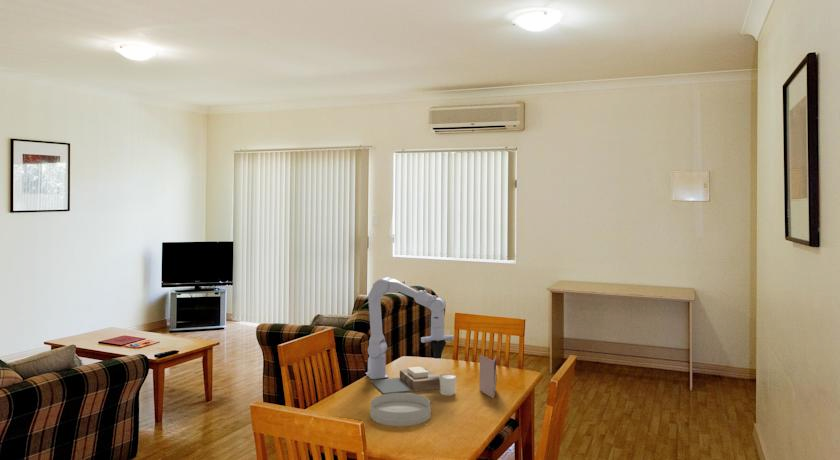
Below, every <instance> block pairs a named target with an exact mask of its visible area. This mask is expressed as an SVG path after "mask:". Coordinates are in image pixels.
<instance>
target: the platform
mask: <svg viewBox="0 0 840 460" xmlns="http://www.w3.org/2000/svg"><path fill="white" fill-rule="evenodd" d="M422 368H423V369H425V370H426V371H428V377H420V378H414V377H413V376H412V375H410V374H409V373H408V368H405V369H399V379H401V380H402V381H403V382H404V383H405V384H407V385H408V386H409V387H410V388H411V389H412V390H413V391H412V392H419V391H425V390H426V391H428V390H436V389H440V378H439V376H438V375H437V374H436V373H434V372H433V371H431V370H430V369H428V368H427V367H422Z"/></svg>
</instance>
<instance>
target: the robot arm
mask: <svg viewBox="0 0 840 460" xmlns="http://www.w3.org/2000/svg"><path fill="white" fill-rule="evenodd" d="M388 292H389V293H392V292H399V293H401V294H404V295H406V296H408V297H411V298H413V299H414V301H415V303H416V304H419V305H421V306H423V307H426V308H427V309H429V310H430V314H431V315H430V335H427V336H422V337H420V342H421V343H422V344H424V343H429V346H430V348H431V350H432V353H433V358H434V359H441V357H442V354H443V351H444V348H445V347H446V344H447V341H454V340H455V336H454V335H453V334H445V310H444V309H445V308H446V301H445V299H444V298H442V297H440V296H438V297H437V296H436V295H432V294H431V293H429V292H427V290H425V289H423V290H422V289H420V290H416V289H414V288H412V287H411V286H408V284H406V283H403V282H401V281H399V280H398V279H396V278H392V277H390V276H385V277H383V278H380V279H377V280H376V281H375V282H374V283H372V287H371V288H370V291H369V293H368V295H367V298H368V299H367V301H368V309H369V310H368V312H369V314H368V315H369V327H370V337H369V340H368V347H367V353H368V355H369V356H368V358H367V372H365V374H366V376H367V377H368V378H369V379H371V380H381V379H389V375H388V374H387V372H386V371H387V369H386V365H387V364H386V361H387V360H386V359H387V358H386V356H387V355H386V351H387V350H388V344H387V342H386V338H385V335H384V333H383V332H384V331H383V319H382V305H381V298H382V297H383V296H385V294H387V293H388Z"/></svg>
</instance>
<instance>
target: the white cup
mask: <svg viewBox="0 0 840 460" xmlns="http://www.w3.org/2000/svg"><path fill="white" fill-rule="evenodd" d="M438 377H439V378H440V388H439V389H440V394H441V395H442V396H453V394H454V395H455V393H456V385H457V376H456V375H455V374H451V373H445V374H444V373H443V374H440V375H439V376H438Z"/></svg>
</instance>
